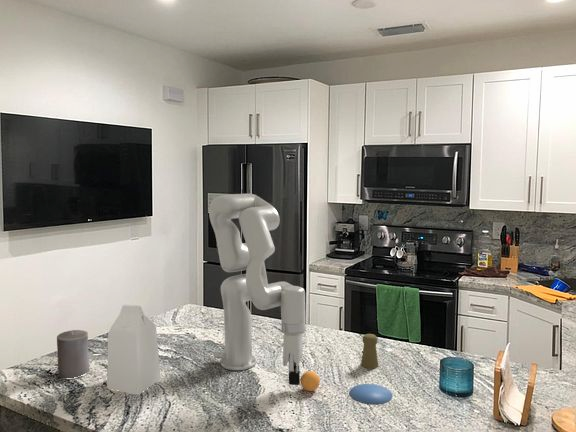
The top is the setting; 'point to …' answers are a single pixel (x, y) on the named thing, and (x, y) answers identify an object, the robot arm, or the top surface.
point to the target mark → (370, 394)
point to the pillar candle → (72, 353)
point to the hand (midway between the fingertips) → (294, 383)
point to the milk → (132, 352)
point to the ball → (310, 381)
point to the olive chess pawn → (369, 352)
